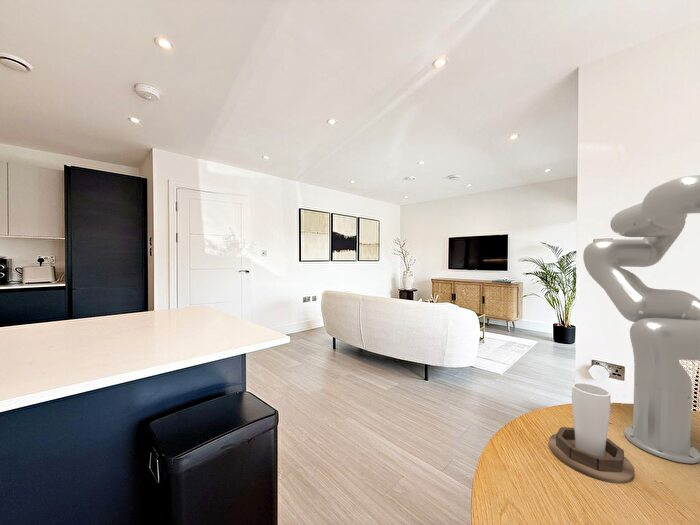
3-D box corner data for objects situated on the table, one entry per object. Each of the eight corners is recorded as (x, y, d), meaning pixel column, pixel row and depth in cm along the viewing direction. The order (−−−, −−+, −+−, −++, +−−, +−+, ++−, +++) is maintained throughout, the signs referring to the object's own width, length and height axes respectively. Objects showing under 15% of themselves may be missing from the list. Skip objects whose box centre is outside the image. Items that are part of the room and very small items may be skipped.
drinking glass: (617, 465, 61) (618, 397, 61) (581, 460, 62) (583, 393, 62) (596, 445, 68) (598, 383, 67) (564, 441, 69) (566, 381, 69)
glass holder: (557, 429, 76) (557, 416, 76) (636, 459, 64) (637, 444, 64) (540, 454, 66) (541, 440, 66) (631, 495, 54) (631, 478, 54)
